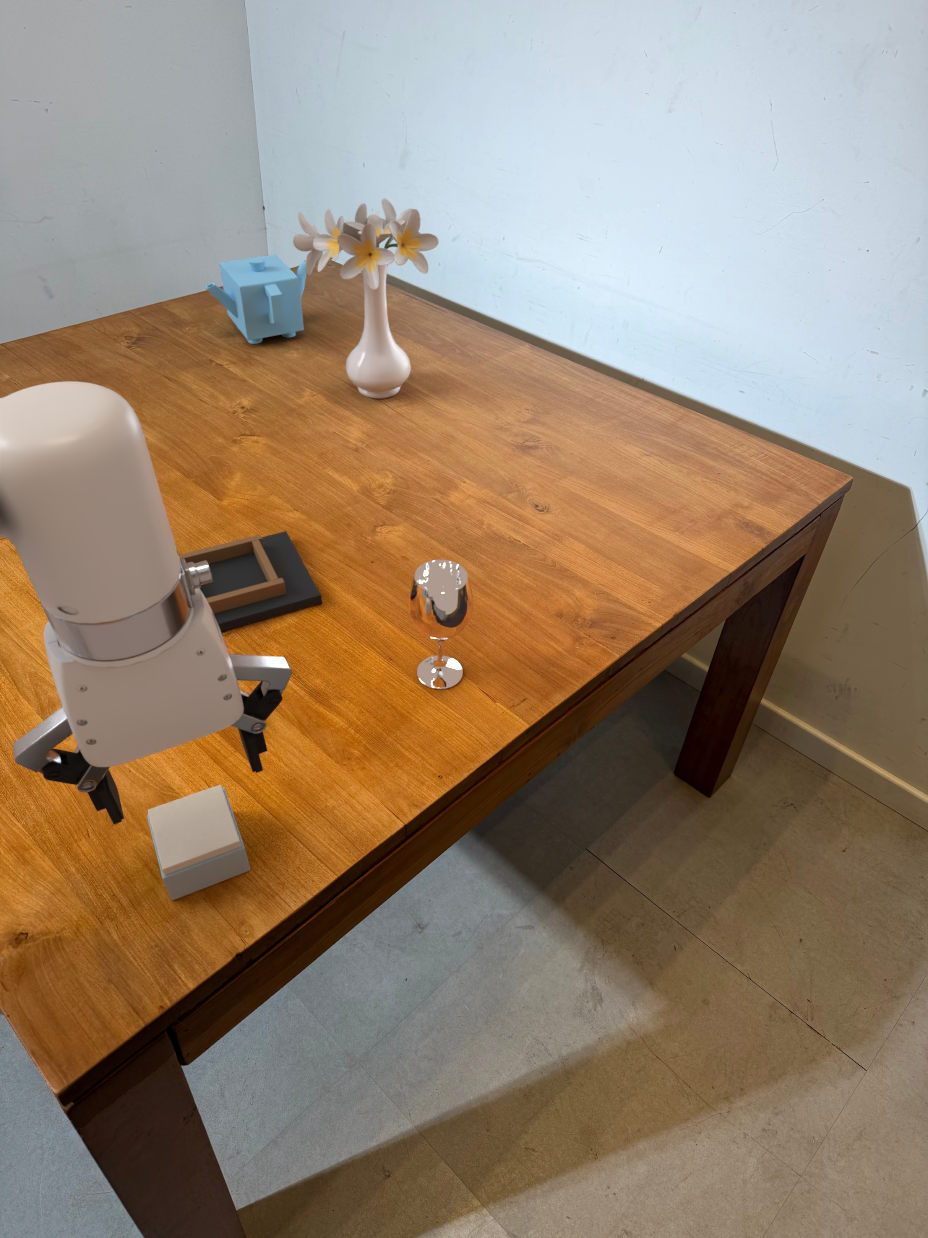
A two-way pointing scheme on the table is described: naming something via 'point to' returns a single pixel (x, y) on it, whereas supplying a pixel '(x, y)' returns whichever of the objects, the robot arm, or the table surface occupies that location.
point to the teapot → (262, 296)
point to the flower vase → (371, 284)
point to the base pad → (255, 580)
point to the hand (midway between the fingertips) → (186, 781)
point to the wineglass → (440, 616)
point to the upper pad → (197, 841)
